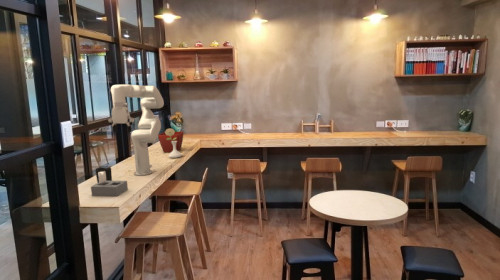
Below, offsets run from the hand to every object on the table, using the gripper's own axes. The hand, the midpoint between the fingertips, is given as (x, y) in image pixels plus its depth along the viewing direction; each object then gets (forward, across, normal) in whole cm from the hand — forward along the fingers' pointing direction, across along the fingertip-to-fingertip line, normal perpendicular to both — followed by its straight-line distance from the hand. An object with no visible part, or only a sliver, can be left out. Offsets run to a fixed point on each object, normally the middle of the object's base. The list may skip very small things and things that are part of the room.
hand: (122, 132), depth 215 cm
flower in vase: (+34, -4, -71) cm, 78 cm away
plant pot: (+34, +8, -95) cm, 101 cm away
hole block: (+33, +1, +19) cm, 38 cm away
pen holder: (+34, +15, +2) cm, 37 cm away
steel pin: (+32, +5, +19) cm, 37 cm away
